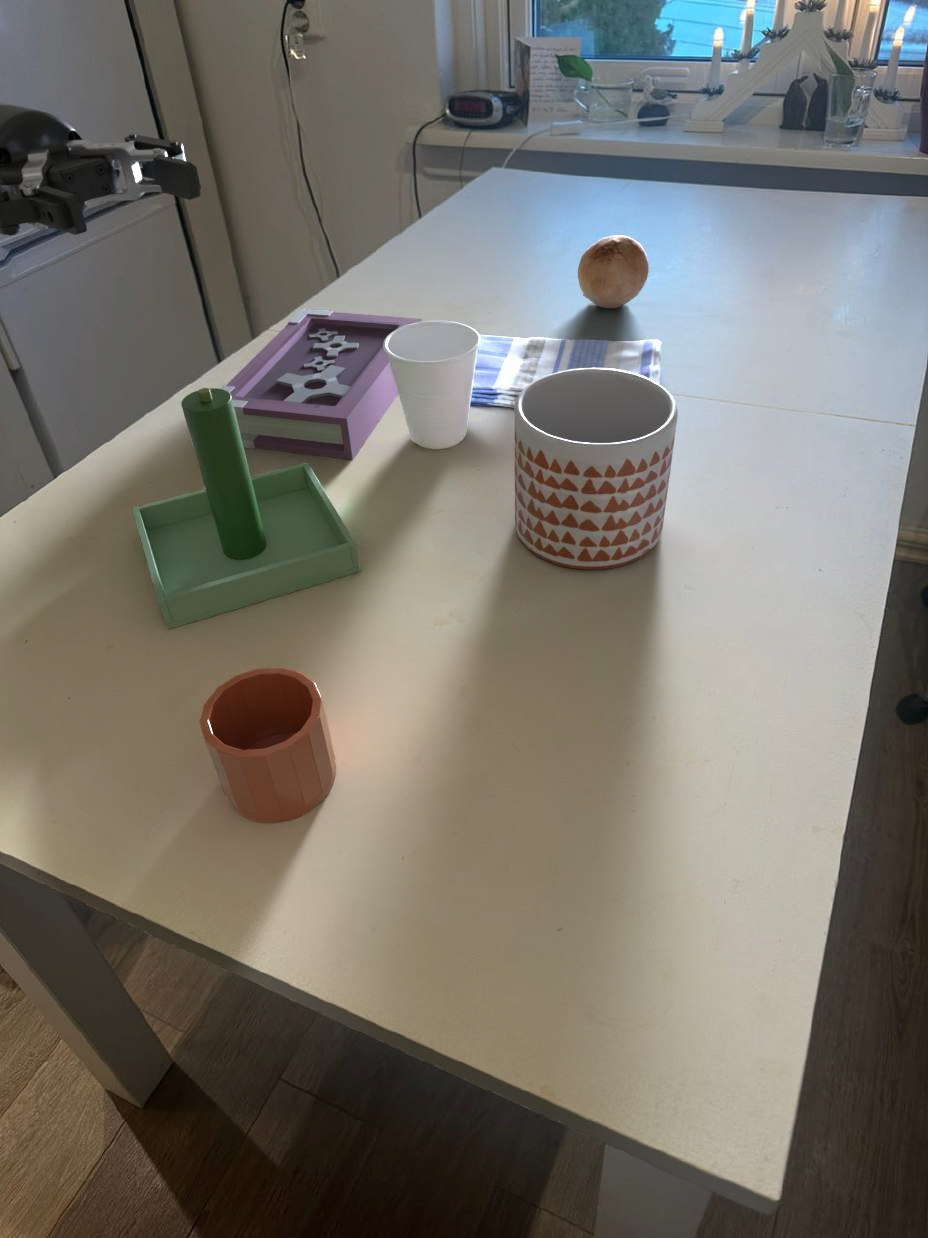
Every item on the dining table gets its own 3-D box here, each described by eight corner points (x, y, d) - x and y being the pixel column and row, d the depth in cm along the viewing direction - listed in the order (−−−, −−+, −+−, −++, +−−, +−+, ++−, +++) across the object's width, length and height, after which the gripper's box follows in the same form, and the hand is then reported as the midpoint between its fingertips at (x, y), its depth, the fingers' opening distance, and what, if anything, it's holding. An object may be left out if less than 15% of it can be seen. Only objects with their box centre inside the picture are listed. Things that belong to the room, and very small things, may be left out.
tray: (168, 629, 74) (158, 602, 72) (141, 534, 84) (131, 507, 82) (360, 571, 78) (356, 544, 76) (312, 488, 89) (307, 462, 87)
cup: (467, 466, 91) (462, 367, 83) (379, 453, 93) (367, 356, 86) (495, 419, 98) (493, 324, 90) (412, 409, 100) (404, 316, 93)
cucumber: (228, 564, 79) (183, 406, 68) (219, 541, 82) (174, 385, 71) (271, 552, 80) (233, 395, 70) (260, 529, 83) (222, 374, 72)
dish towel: (658, 423, 95) (661, 400, 94) (449, 409, 100) (447, 386, 98) (665, 354, 108) (668, 332, 106) (479, 344, 112) (478, 323, 110)
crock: (238, 840, 58) (214, 773, 53) (214, 756, 63) (190, 689, 58) (350, 797, 60) (336, 730, 55) (317, 720, 65) (302, 653, 61)
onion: (603, 335, 120) (593, 281, 111) (571, 294, 124) (559, 239, 115) (664, 300, 119) (659, 243, 111) (630, 260, 124) (622, 203, 115)
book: (307, 345, 114) (301, 308, 111) (425, 355, 111) (422, 317, 107) (216, 444, 96) (205, 403, 93) (352, 460, 93) (346, 418, 89)
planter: (554, 589, 75) (558, 461, 67) (492, 506, 85) (488, 386, 77) (690, 548, 79) (711, 422, 70) (616, 473, 88) (626, 355, 80)
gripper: (-107, 125, 58) (10, 159, 49) (85, 86, 66) (215, 109, 57) (-57, 243, 63) (57, 291, 54) (116, 193, 71) (240, 228, 62)
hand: (138, 197), depth 56 cm, fingers open, 8 cm apart
